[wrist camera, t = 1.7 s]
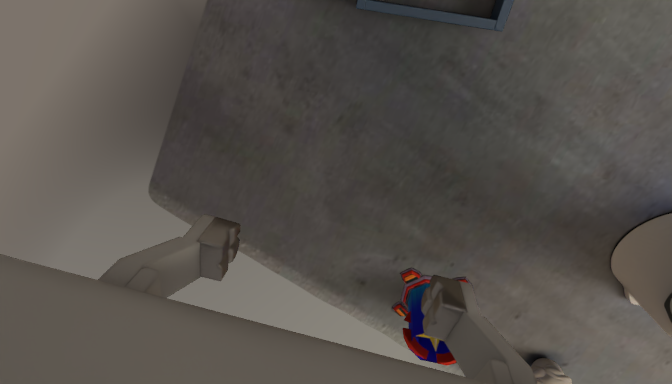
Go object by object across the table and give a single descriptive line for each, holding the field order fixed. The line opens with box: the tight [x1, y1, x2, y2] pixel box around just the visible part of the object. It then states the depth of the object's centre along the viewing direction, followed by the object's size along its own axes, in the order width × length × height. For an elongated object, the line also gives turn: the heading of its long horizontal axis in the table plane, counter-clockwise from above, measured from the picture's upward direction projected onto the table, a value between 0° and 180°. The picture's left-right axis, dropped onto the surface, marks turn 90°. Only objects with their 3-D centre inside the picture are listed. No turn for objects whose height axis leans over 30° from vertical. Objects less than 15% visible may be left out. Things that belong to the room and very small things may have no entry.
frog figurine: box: [531, 358, 571, 384], centre depth 57 cm, size 6×7×7 cm
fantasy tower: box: [392, 268, 473, 365], centre depth 51 cm, size 12×12×12 cm
